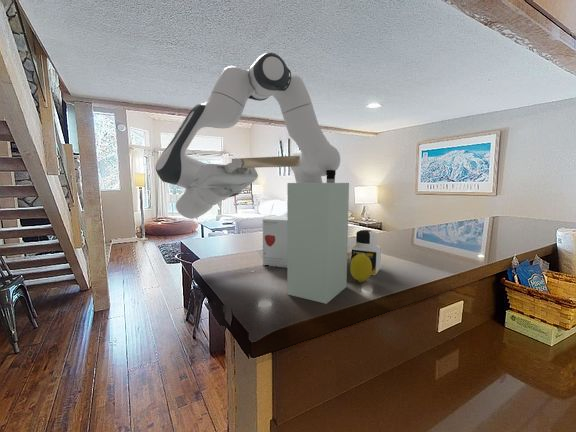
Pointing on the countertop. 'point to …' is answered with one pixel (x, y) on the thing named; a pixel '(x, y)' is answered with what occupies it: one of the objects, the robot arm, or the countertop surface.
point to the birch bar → (271, 162)
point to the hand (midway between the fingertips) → (246, 161)
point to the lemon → (361, 267)
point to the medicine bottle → (368, 248)
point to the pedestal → (317, 240)
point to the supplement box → (275, 241)
